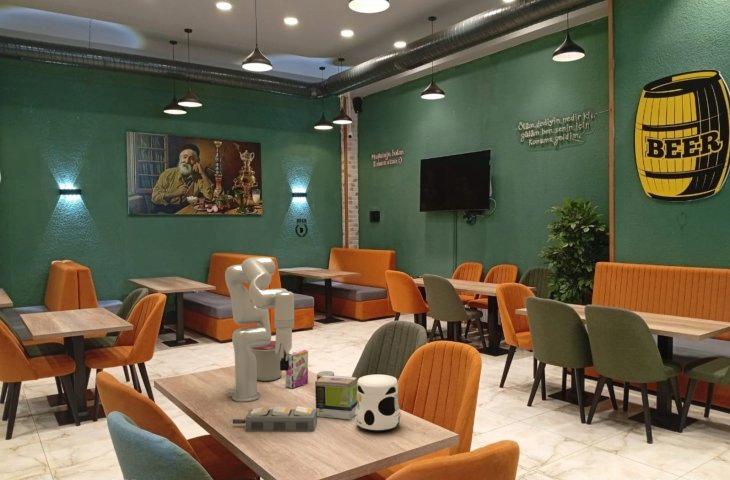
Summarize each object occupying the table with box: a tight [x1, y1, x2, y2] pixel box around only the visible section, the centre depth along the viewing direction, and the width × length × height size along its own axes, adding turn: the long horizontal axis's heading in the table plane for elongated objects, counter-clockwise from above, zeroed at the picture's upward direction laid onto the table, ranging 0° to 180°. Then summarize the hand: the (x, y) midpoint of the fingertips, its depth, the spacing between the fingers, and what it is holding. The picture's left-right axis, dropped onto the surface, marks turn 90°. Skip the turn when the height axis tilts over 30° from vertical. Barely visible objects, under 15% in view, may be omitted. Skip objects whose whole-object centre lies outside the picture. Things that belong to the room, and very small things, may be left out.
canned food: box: [316, 370, 335, 380], centre depth 241 cm, size 8×8×11 cm
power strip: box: [232, 408, 318, 432], centre depth 207 cm, size 32×9×5 cm, turn 87°
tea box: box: [314, 375, 358, 421], centre depth 220 cm, size 15×10×15 cm
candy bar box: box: [285, 349, 309, 390], centre depth 260 cm, size 11×5×16 cm, turn 144°
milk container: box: [354, 374, 401, 432], centre depth 206 cm, size 17×17×18 cm
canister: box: [251, 340, 283, 382], centre depth 272 cm, size 18×18×21 cm
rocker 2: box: [272, 406, 292, 416], centre depth 207 cm, size 6×5×2 cm
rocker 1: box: [250, 405, 270, 416], centre depth 208 cm, size 6×5×2 cm
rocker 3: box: [295, 405, 314, 416], centre depth 207 cm, size 6×5×2 cm
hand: (284, 369), depth 210 cm, fingers closed
